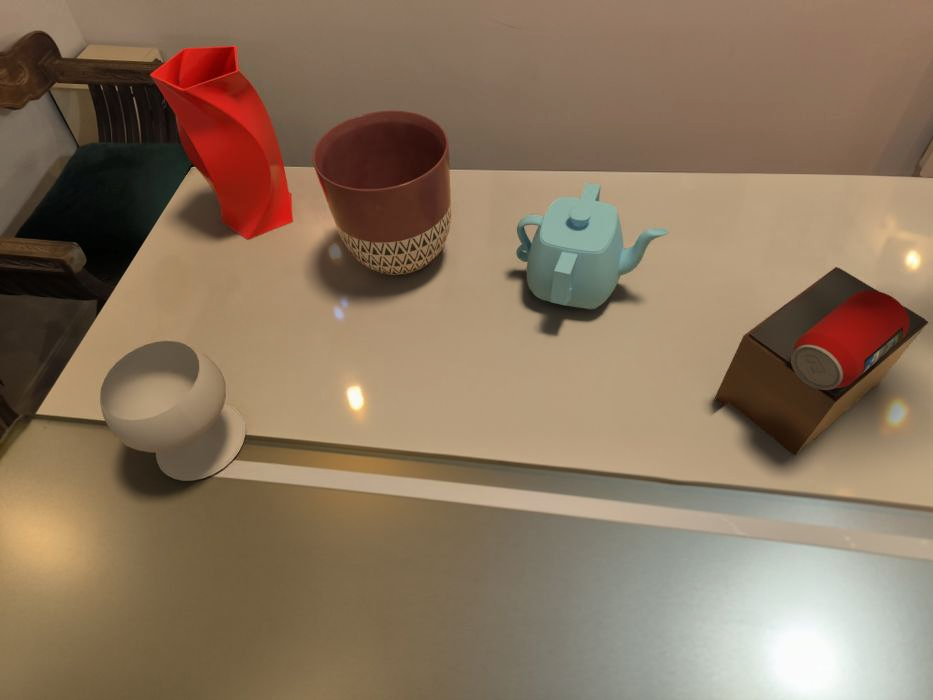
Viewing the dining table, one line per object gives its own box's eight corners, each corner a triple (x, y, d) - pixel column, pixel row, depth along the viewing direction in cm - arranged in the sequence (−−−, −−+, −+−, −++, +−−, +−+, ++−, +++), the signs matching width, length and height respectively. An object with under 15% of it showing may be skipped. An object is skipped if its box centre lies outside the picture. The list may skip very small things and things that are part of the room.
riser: (797, 334, 88) (837, 264, 77) (875, 387, 82) (931, 319, 71) (713, 398, 82) (744, 333, 71) (790, 461, 76) (837, 400, 65)
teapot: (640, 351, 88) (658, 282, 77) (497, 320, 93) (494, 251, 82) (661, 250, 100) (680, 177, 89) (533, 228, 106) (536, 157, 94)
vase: (310, 195, 116) (262, 47, 94) (279, 245, 107) (218, 96, 85) (239, 187, 119) (176, 42, 97) (203, 236, 110) (125, 90, 88)
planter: (326, 287, 100) (287, 178, 83) (373, 212, 111) (347, 103, 94) (436, 310, 95) (419, 200, 79) (474, 229, 107) (466, 118, 90)
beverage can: (865, 342, 71) (802, 397, 67) (839, 292, 70) (774, 344, 67) (925, 335, 65) (859, 394, 61) (896, 280, 64) (828, 337, 60)
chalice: (273, 438, 83) (232, 375, 71) (181, 509, 77) (121, 453, 65) (219, 382, 89) (174, 315, 78) (132, 443, 84) (69, 381, 72)
